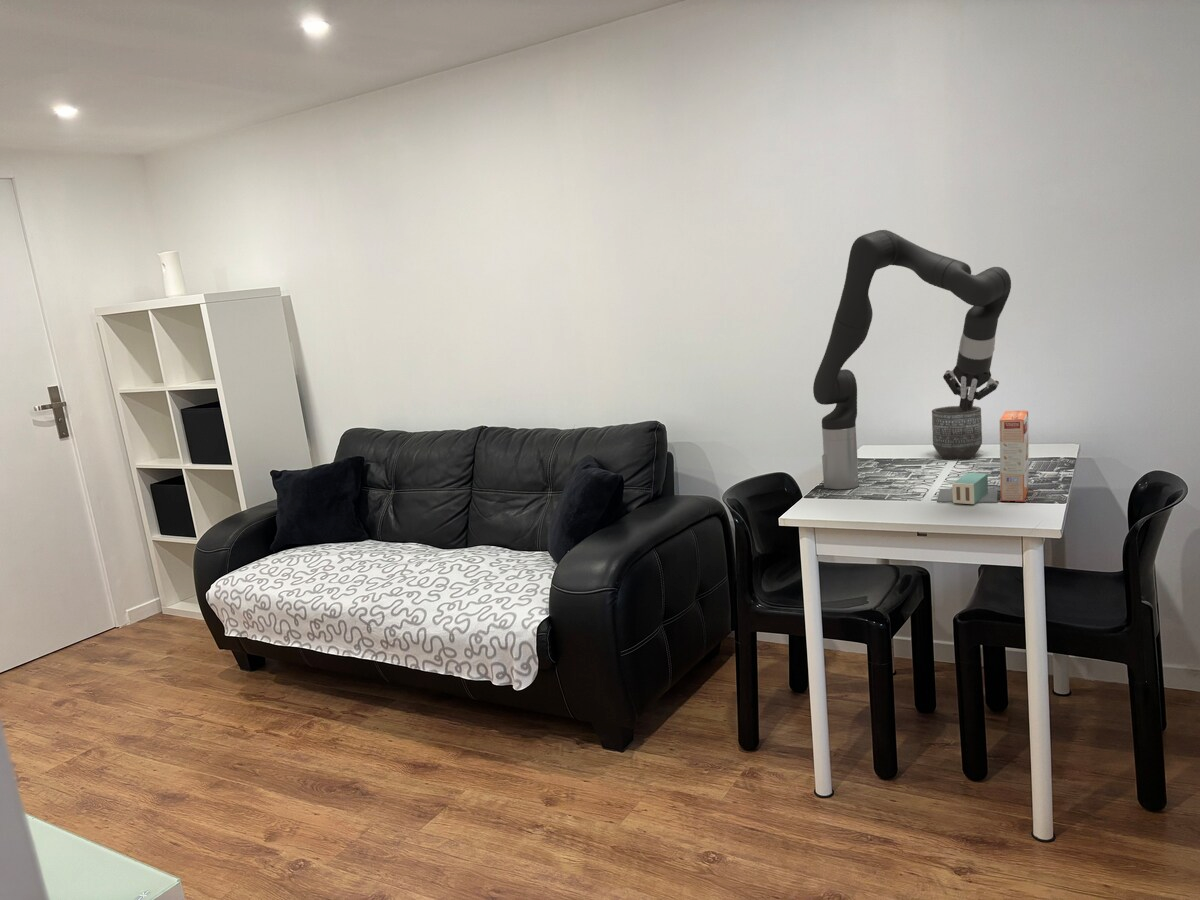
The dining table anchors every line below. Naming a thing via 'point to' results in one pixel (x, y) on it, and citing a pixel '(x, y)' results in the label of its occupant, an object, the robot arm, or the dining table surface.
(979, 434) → the planter
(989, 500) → the grey mat
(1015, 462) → the cracker box
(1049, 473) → the dining table surface
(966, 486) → the teal block
